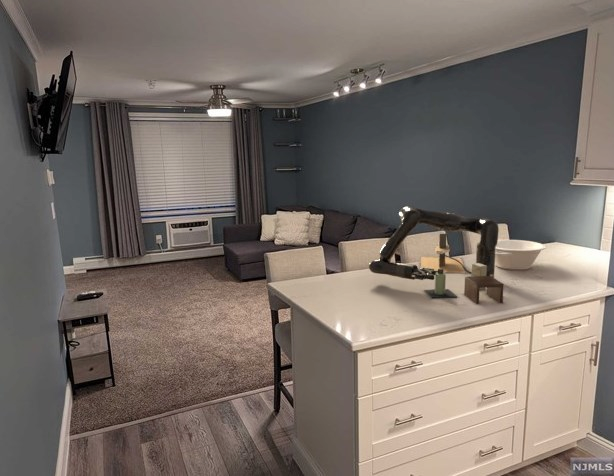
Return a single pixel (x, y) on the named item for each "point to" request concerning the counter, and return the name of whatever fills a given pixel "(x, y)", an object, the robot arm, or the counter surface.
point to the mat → (447, 295)
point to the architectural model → (442, 259)
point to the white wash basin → (516, 254)
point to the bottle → (440, 282)
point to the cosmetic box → (479, 270)
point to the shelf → (479, 282)
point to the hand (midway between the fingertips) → (437, 275)
